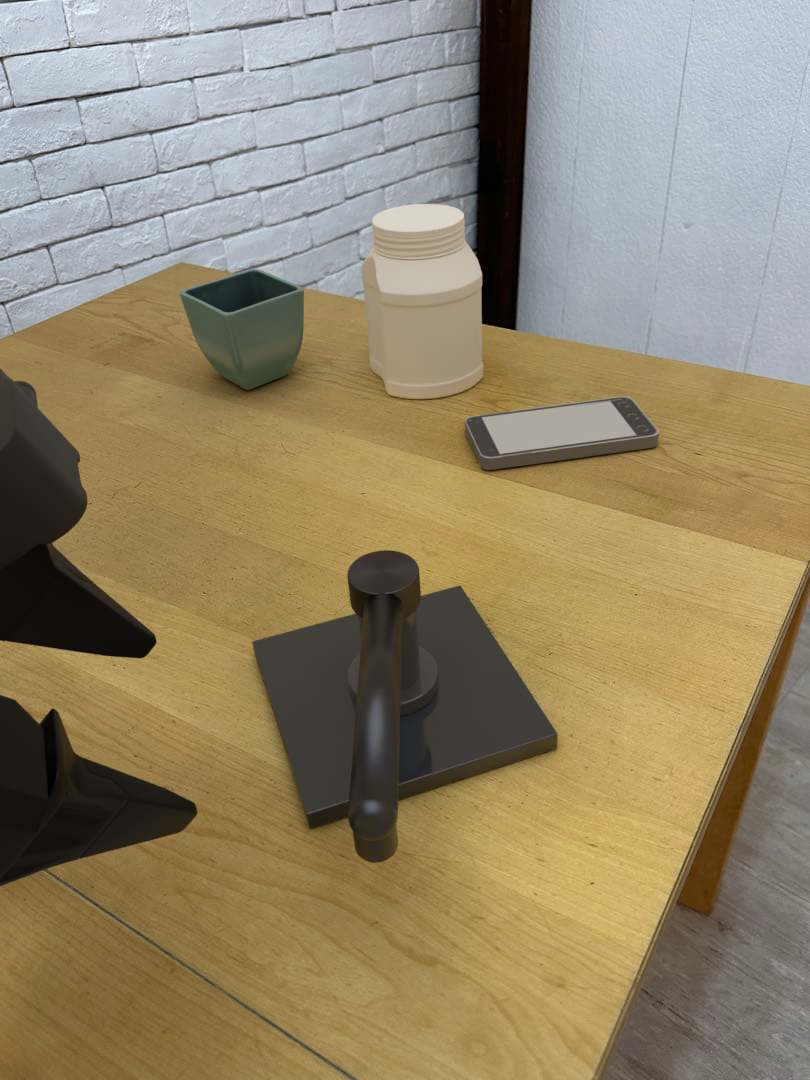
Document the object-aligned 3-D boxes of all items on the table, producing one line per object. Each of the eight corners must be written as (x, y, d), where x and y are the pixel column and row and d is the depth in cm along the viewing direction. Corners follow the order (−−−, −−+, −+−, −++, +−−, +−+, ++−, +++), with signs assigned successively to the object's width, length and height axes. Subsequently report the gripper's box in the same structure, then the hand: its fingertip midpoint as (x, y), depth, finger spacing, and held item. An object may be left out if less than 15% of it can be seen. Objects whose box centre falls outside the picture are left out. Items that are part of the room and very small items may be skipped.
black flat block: (309, 829, 46) (290, 732, 42) (254, 655, 57) (235, 564, 53) (557, 749, 49) (562, 651, 45) (460, 598, 60) (458, 509, 56)
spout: (354, 592, 51) (349, 551, 49) (421, 589, 51) (419, 548, 49) (328, 866, 37) (320, 821, 35) (422, 864, 36) (418, 819, 35)
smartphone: (662, 434, 74) (482, 459, 72) (661, 446, 74) (482, 471, 73) (629, 395, 80) (462, 417, 78) (628, 406, 80) (463, 428, 79)
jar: (363, 359, 92) (349, 208, 83) (451, 342, 94) (447, 193, 85) (396, 407, 83) (384, 243, 74) (493, 387, 85) (492, 226, 76)
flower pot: (317, 374, 90) (306, 286, 85) (242, 405, 85) (226, 314, 80) (267, 350, 95) (254, 266, 90) (195, 378, 91) (176, 291, 86)
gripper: (-226, 521, 16) (390, 757, 25) (-129, 226, 30) (242, 448, 40) (-496, 930, 18) (158, 1005, 28) (-288, 478, 32) (97, 630, 42)
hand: (168, 724), depth 34 cm, fingers open, 9 cm apart
